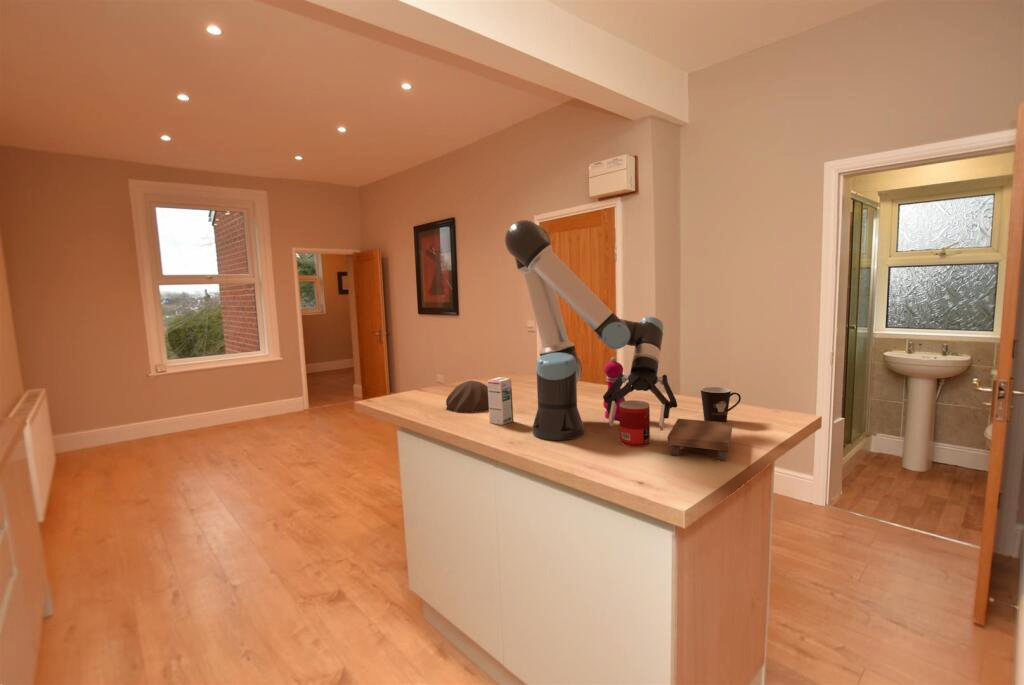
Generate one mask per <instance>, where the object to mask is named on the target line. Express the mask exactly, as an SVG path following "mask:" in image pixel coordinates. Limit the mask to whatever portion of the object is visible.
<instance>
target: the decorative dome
mask: <svg viewBox="0 0 1024 685" xmlns="http://www.w3.org/2000/svg"><path fill="white" fill-rule="evenodd" d="M445 400H446V401H445V403H446V404H445V405H446V408H445V410H446V411H452V412H454V413H476V412H484V411H485V412H486V411H489V401H488V385H487V384H485V383H482V382H480V381H476V380H467V381H464V382H462V383H460V384H458V385H457V386H456V387H455V388H453V390H452V391H451V393H450V394H449V395H448V396H447V397H446V399H445Z"/></svg>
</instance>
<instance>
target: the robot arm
mask: <svg viewBox="0 0 1024 685" xmlns="http://www.w3.org/2000/svg"><path fill="white" fill-rule="evenodd" d="M504 244H505V247H506V249H507V251H508V253H509V254H510V255H511V256H512V257H514V260H515V263H516V267H517V271H518V272H520V273H521V274H523V276H524V279H525V283H526V286H527V291H528V296H529V300H530V302H531V307H532V310H533V313H534V314H533V315H534V317H535V322H536V326H537V330H538V334H539V338H540V342H541V344H542V347H541V349H540V351H539V357H538V358H537V360H536V366H535V371H536V383H537V386H536V387H537V389H536V391H537V411H536V414H535V418H534V420H533V421H534V422H533V424H532V434H533V435H534V436H535V437H536V438H538V439H541V440H548V441H566V440H567V441H568V440H573V439H577V438H580V437H582V436H583V435H584V434H585V433H584V431H585V428H584V423H583V420H582V417H581V415H580V412H579V408H578V395H577V394H578V393H577V392H578V390H577V389H578V387H577V386H578V385H577V384H578V383H579V381H580V378H581V377H582V375H583V374H582V373H583V364H582V362H581V360H580V358H579V356H578V352H577V349H576V345H575V343H574V342H572V341H570V339H569V337H568V333H567V330H566V329H567V328H566V326H565V322H564V318H563V313H562V309H561V305H560V301H559V297H560V298H561V299H562V300H563V301H564V302H565V303H566V304H567V305H568V306H569V307H570V308H571V309H572V310H573V311H574V312H575V313H576V314H577V315H578V316H579V317H580V318H581V319H582V320H583V321H584V322H585V323H586V324H587V325H588V326H589V327H590V328H591V329H592V330H593V331H594V332H595V333H596V334H597V335H596V336H597V339H599V340H602V342H603V344H604V345H605V346H606V347H608V348H610V349H612V350H619V349H622V348H624V347H626V346H630V347H634V350H633V351H634V352H633V354H632V355H633V356H632V361H631V368H630V373H629V374H628V375H627V374H624V372H623V373H619V375H618V378H617V380H616V381H615V382H614V383H613V385H612V386H611V387H610V388H609V390H608V389H607V390H608V391H607V390H606V392H605V393H604V395H603V396H602V397H603V398H602V399H603V402H604V401H605V403H608V408H607V412H608V414H610V415H609V418H608V420H607V422H608V424H609V426H610V427H613V426H614V423H615V419H614V417H615V412H616V407H617V406H616V403H617V402H618V401H619V400H620V399H622V398H623V397H624V398H625V397H626V396H627V395H628V394H629V393H633V391H638V392H639V391H644V392H648V391H649V390H650V392H651V393H652V394H653V395H654V396H655V397H656V398H657V399H658V400H659V402H660V403H661V406H660V407H661V408H660V417H659V423H658V428H659V430H660V431H664V428H665V426H664V425H665V419H666V420H668V419H669V418H670V410H671V409H672V408H673V409H674V408H677V407H678V402H677V398H676V397H675V394H674V393H673V391H672V389H671V387H670V384H669V379H668V375H667V374H663V375H662V376H658V370H659V363H660V355H661V349H662V343H663V336H664V324H663V322H662V321H661V320H660V319H659V318H658V317H656V316H655V317H654V316H648V317H647V316H645V317H642V318H641V319H640V320H639V321H633V320H632V321H631V320H627V319H622V318H619V316H617V315H616V314H615V313H614V312H613V311H612V310H611V309H610V308H609V307H608V306H607V305H606V304H605V303H604V302H603V300H601V299H600V298H599V296H597V295H596V294H595V293H594V292H593V291H592V290H591V289H590V287H588V285H587V284H585V283H584V282H583V281H582V279H580V278H579V276H577V275H576V273H575V272H573V271H572V270H571V269H570V268H569V266H568V265H566V264H565V262H564V261H563V260H562V259H560V257H558V256H557V254H555V252H554V251H553V246H552V245H551V238H550V236H549V234H548V232H547V231H546V230H545V229H544V228H543V227H542V226H540V225H538V224H536V223H535V222H533V221H531V220H526V219H525V220H524V219H522V220H518V221H515V222H513V223H512V224H511V225H510V226H509V227H508V229H507V230H506V232H505V237H504ZM558 296H559V297H558ZM626 381H628V382H626ZM658 382H659V383H660V385H662V386H663V388H664V390H665V394H666V395H667V397H668V399H669V400H668V399H667V398H666V396H665V395H664V394H663V393H662V392H661V390H659V388H658V387H657V385H656V384H658ZM625 383H626V384H625ZM623 384H625V385H623ZM622 386H623V387H622ZM620 387H621V389H620V390H619V388H620ZM618 390H619V391H618Z"/></svg>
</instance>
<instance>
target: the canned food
mask: <svg viewBox="0 0 1024 685" xmlns="http://www.w3.org/2000/svg"><path fill="white" fill-rule="evenodd" d="M619 407H620V408H619V412H620V419H619V439H620V442H621V443H622V444H623V445H624V446H627V447H636V446H638V447H644V446H648V445H649V443H650V440H651V439H650V438H651V437H650V436H651V432H650V430H651V429H650V425H651V423H650V420H651V418H650V414H651V413H650V403H649V402H647V401H643V400H634V399H633V400H625V401H623V402H620V405H619Z"/></svg>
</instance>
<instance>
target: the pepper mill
mask: <svg viewBox="0 0 1024 685" xmlns="http://www.w3.org/2000/svg"><path fill="white" fill-rule="evenodd" d="M604 373H605V375H606V380H605V381H607V390H606V392H607V391H608V390H609V388H610V387H611V386H612V385H613V383H614V382H615V381H616V380H617V378H618V375H619V373H623V374H624V367H623V365H622V363H620V362H618V361H617V357H614V356H613V357H611V358H610V361H609V362H607V363H606V365H605V366H604ZM621 388H622V386H621V387H620V388H619V390H620V389H621ZM619 390H618V391H619ZM623 401H626V399H625V396H624V397H623V398H622V399H620V400H619V401H618V402H617V403H616V406H617V407H616V412H615V417H614V420H620V412H619V408H620V407H619V405H620V402H623ZM602 402H603V404H602V405H603V408H604V409H605V411H604V417H605V418H607V419H609V415H610V414H608V412H607V408H608V403H605V401H604V400H603V401H602Z"/></svg>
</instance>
